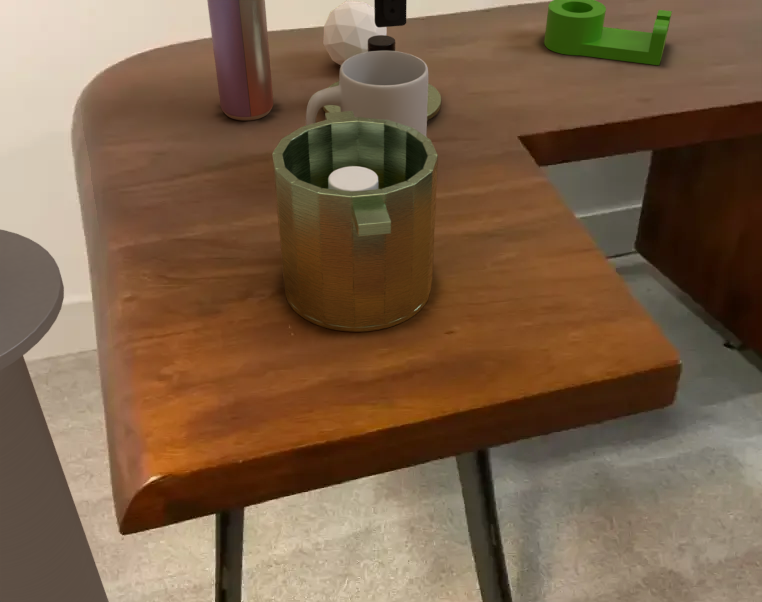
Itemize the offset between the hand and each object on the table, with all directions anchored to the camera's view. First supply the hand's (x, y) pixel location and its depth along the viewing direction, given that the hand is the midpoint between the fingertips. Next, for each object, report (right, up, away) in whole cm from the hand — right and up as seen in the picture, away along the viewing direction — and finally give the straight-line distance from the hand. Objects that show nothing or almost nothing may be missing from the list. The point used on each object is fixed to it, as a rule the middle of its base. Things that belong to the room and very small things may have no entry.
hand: (382, 8), depth 97 cm
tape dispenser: (+28, +4, +20) cm, 35 cm away
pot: (-2, -32, -18) cm, 37 cm away
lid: (0, -8, +7) cm, 11 cm away
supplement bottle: (-2, -32, -18) cm, 36 cm away
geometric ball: (-3, 0, +16) cm, 16 cm away
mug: (-2, -19, -4) cm, 19 cm away
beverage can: (-15, -9, +7) cm, 19 cm away
